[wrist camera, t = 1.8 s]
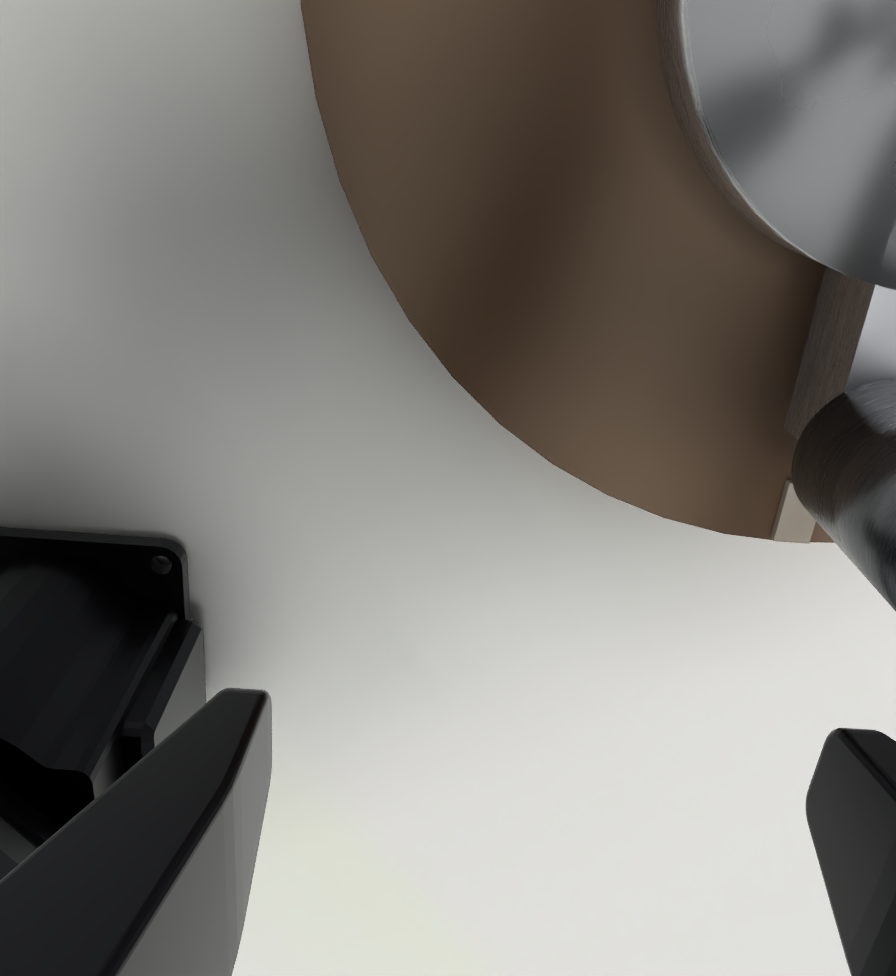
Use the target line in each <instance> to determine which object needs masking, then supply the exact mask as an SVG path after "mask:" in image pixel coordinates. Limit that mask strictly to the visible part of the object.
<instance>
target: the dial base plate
mask: <svg viewBox="0 0 896 976" xmlns="http://www.w3.org/2000/svg"><path fill="white" fill-rule="evenodd" d="M301 9H302V16H303V22H304V28H305V34H306V40H307V46H308V52H309V58H310V64H311V70H312V77H313V83H314V89H315V95H316V100H317V103H318V107H319V110H320V114H321V117H322V121H323V124H324V128H325V131H326V135H327V138H328V142H329V145H330V149H331V152H332V156H333V159H334V163H335V166H336V169H337V173H338V176H339V180H340V183H341V185H342V187H343V190H344V192H345V195H346V197H347V199H348V202H349V204H350V206H351V209H352V211H353V213H354V216H355V218H356V221H357V223H358V225H359V228H360V230H361V232H362V235H363V237H364V239H365V242H366V244H367V246H368V249H369V251H370V254H371V256H372V257H373V259H374V261H375V263H376V264H377V266H378V268H379V270H380V271H381V273H382V275H383V276H384V278H385V280H386V282H387V283H388V285H389V287H390V288H391V290H392V292H393V294H394V295H395V297H396V299H397V301H398V302H399V304H400V306H401V307H402V309H403V311H404V313H405V314H406V316H407V318H408V319H409V321H410V322H411V324H412V325H413V326H414V327H415V329H416V330H417V331H418V333H419V334H420V335H421V337H422V338H423V339H424V340H425V342H426V343H427V344H428V346H429V347H430V348H431V350H432V351H433V352H434V353H435V355H436V356H437V357H438V359H439V360H440V361H441V363H442V364H443V365H444V367H445V368H446V369H447V370H448V372H449V373H450V374H451V376H452V377H453V378H454V379H455V380H456V381H457V382H458V383H459V384H460V385H461V386H462V387H463V388H464V389H465V390H466V391H467V392H468V393H469V394H470V395H471V396H472V397H473V398H474V399H475V400H476V401H477V402H478V403H479V404H480V405H481V406H482V407H483V408H484V409H485V410H486V411H487V412H488V413H489V414H490V415H491V416H492V417H493V418H494V419H495V420H496V421H497V422H498V423H499V424H501V425H502V426H503V427H504V428H506V429H507V430H508V431H510V432H511V433H512V434H514V435H515V436H516V437H518V438H519V439H520V440H522V441H523V442H524V443H526V444H527V445H528V446H529V447H531V448H532V449H533V450H535V451H536V452H537V453H539V454H540V455H541V456H543V457H544V458H545V459H547V460H548V461H549V462H551V463H552V464H554V465H555V466H557V467H559V468H561V469H563V470H564V471H566V472H568V473H570V474H571V475H573V476H575V477H577V478H578V479H580V480H582V481H584V482H585V483H587V484H589V485H591V486H592V487H594V488H596V489H598V490H600V491H601V492H603V493H605V494H607V495H609V496H612V497H614V498H616V499H619V500H621V501H624V502H626V503H629V504H631V505H634V506H636V507H639V508H641V509H644V510H646V511H649V512H651V513H654V514H656V515H658V516H661V517H663V518H667V519H671V520H674V521H678V522H682V523H686V524H690V525H693V526H697V527H701V528H705V529H709V530H713V531H716V532H720V533H724V534H731V535H739V536H746V537H754V538H761V539H769V540H773V541H781V542H795V543H810V542H834V541H833V540H832V538H831V537H830V536H829V535H828V534H827V533H826V532H825V531H824V529H823V528H822V527H821V526H820V525H819V524H818V523H817V521H816V520H815V519H814V518H813V517H812V516H811V515H810V514H809V512H808V511H807V510H806V509H805V508H804V507H803V506H802V504H801V502H800V501H799V499H798V497H797V495H796V493H795V490H794V486H793V482H792V474H791V469H792V459H793V454H794V450H795V447H796V445H797V442H798V440H797V439H796V438H795V437H794V436H793V435H792V434H791V433H790V432H789V431H788V430H787V429H786V428H785V427H784V422H785V418H786V415H787V411H788V407H789V403H790V399H791V396H792V392H793V388H794V384H795V381H796V377H797V373H798V369H799V365H800V362H801V358H802V354H803V350H804V347H805V343H806V339H807V335H808V331H809V328H810V324H811V320H812V316H813V313H814V309H815V305H816V301H817V297H818V294H819V290H820V286H821V282H822V279H823V275H824V271H825V267H826V266H825V265H822V264H820V263H818V262H816V261H813V260H811V259H809V258H806V257H804V256H802V255H800V254H798V253H796V252H794V251H792V250H790V249H788V248H786V247H784V246H782V245H779V244H777V243H776V242H775V241H773V240H772V239H770V238H769V237H767V236H766V235H764V234H763V233H761V232H760V231H758V230H757V229H756V228H754V227H753V226H751V225H750V224H749V223H748V222H747V221H746V220H745V219H744V218H742V217H741V216H740V215H739V214H738V213H737V212H736V211H735V210H734V209H733V208H732V207H731V206H730V205H729V204H728V203H726V201H725V200H724V199H723V198H722V196H721V195H720V194H719V193H718V191H717V190H716V189H715V187H714V186H713V185H712V184H711V182H710V181H709V180H708V179H707V177H706V176H705V175H704V173H703V171H702V170H701V168H700V166H699V164H698V163H697V161H696V159H695V157H694V156H693V154H692V152H691V151H690V149H689V147H688V145H687V144H686V141H685V139H684V136H683V134H682V131H681V129H680V126H679V124H678V121H677V119H676V116H675V114H674V111H673V109H672V105H671V101H670V97H669V94H668V90H667V86H666V82H665V78H664V74H663V70H662V63H661V55H660V47H659V39H658V32H657V0H301Z"/></svg>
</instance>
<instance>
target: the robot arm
mask: <svg viewBox="0 0 896 976" xmlns="http://www.w3.org/2000/svg"><path fill="white" fill-rule="evenodd" d="M155 556H164V557H166V558H167V559H169V560H170V562H171V564H172V565H170V566H165V565H161V564H160V563H159V562H158V561H157V560H156V557H155ZM271 768H272V704H271V697H270V695H269V694H268V692H266V691H265V690H256V689H241V688H226V689H224V690H222V691H220V692H219V693H217V694H216V695H215V696H214V697H213V698H212V699H211V700H209V701H208V702H207V703H206V689H205V667H204V646H203V629H202V628H201V627H200V625H199V624H198V623H197V622H196V621H195V620H190V607H189V588H188V570H187V557H186V553H185V551H184V549H183V548H182V547H181V546H180V545H179V544H178V543H176V542H174V541H173V540H169V539H163V538H149V537H134V536H120V535H106V534H91V533H77V532H62V531H48V530H34V529H19V528H5V527H0V976H231V975H232V972H233V968H234V964H235V961H236V957H237V953H238V949H239V944H240V940H241V935H242V931H243V926H244V921H245V916H246V910H247V905H248V900H249V894H250V889H251V883H252V878H253V873H254V867H255V862H256V856H257V851H258V845H259V840H260V835H261V829H262V824H263V818H264V813H265V808H266V802H267V797H268V791H269V786H270V779H271ZM806 815H807V821H808V825H809V829H810V832H811V836H812V839H813V843H814V846H815V850H816V854H817V857H818V861H819V864H820V868H821V871H822V875H823V878H824V882H825V886H826V889H827V893H828V896H829V900H830V903H831V907H832V910H833V914H834V917H835V921H836V925H837V928H838V932H839V935H840V939H841V942H842V946H843V949H844V953H845V956H846V960H847V963H848V966H849V969H850V973H851V976H896V741H894V740H893V739H891V738H890V737H888V736H887V735H885V734H883V733H882V732H879V731H876V730H867V729H851V728H838V729H835V730H833V731H832V732H831V733H830V734H829V735H828V736H827V738H826V740H825V743H824V746H823V749H822V751H821V754H820V757H819V760H818V763H817V766H816V769H815V772H814V775H813V777H812V780H811V783H810V786H809V789H808V792H807V797H806Z"/></svg>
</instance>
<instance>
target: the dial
mask: <svg viewBox="0 0 896 976" xmlns="http://www.w3.org/2000/svg"><path fill="white" fill-rule="evenodd" d="M657 32H658V39H659V47H660V55H661V63H662V70H663V74H664V78H665V82H666V86H667V90H668V94H669V97H670V101H671V105H672V109H673V111H674V114H675V116H676V119H677V121H678V124H679V126H680V129H681V131H682V134H683V136H684V139H685V141H686V144H687V145H688V147H689V149H690V151H691V152H692V154H693V156H694V157H695V159H696V161H697V163H698V164H699V166H700V168H701V170H702V171H703V173H704V175H705V176H706V177H707V179H708V180H709V181H710V182H711V184H712V185H713V186H714V187H715V189H716V190H717V191H718V193H719V194H720V195H721V196H722V198H723V199H724V200H725V201H726V203H728V204H729V205H730V206H731V207H732V208H733V209H734V210H735V211H736V212H737V213H738V214H739V215H740V216H741V217H742V218H744V219H745V220H746V221H747V222H748V223H749V224H750V225H751V226H753V227H754V228H756V229H757V230H758V231H760V232H761V233H763V234H764V235H766V236H767V237H769V238H770V239H772V240H773V241H775V242H776V243H777V244H779V245H782V246H784V247H786V248H788V249H790V250H792V251H794V252H796V253H798V254H800V255H802V256H804V257H806V258H809V259H811V260H813V261H816V262H818V263H820V264H822V265H825V266H826V267H825V271H824V275H823V279H822V282H821V286H820V290H819V294H818V297H817V301H816V305H815V309H814V313H813V316H812V320H811V324H810V328H809V331H808V335H807V339H806V343H805V347H804V350H803V354H802V358H801V362H800V365H799V369H798V373H797V377H796V381H795V384H794V388H793V392H792V396H791V399H790V403H789V407H788V411H787V415H786V418H785V422H784V427H785V428H786V429H787V430H788V431H789V432H790V433H791V434H792V435H793V436H794V437H795V438H796V439H797V440H798V442H797V445H796V447H795V450H794V454H793V459H792V469H791V474H792V482H793V486H794V490H795V493H796V495H797V497H798V499H799V501H800V502H801V504H802V506H803V507H804V508H805V509H806V510H807V511H808V512H809V514H810V515H811V516H812V517H813V518H814V519H815V520H816V521H817V523H818V524H819V525H820V526H821V527H822V528H823V529H824V531H825V532H826V533H827V534H828V535H829V536H830V537H831V538H832V540H833V541H834V542H835V543H836V544H837V545H838V546H839V548H840V549H841V550H842V551H843V552H844V553H845V554H846V555H847V557H848V558H849V559H850V560H851V561H852V562H853V563H854V565H855V566H856V567H857V568H858V569H859V570H860V571H861V572H862V574H863V575H864V576H865V577H866V578H867V579H868V580H869V581H870V583H871V584H872V585H873V586H874V587H875V588H876V589H877V591H878V592H879V593H880V594H881V595H882V596H883V597H884V598H885V600H886V601H887V602H888V603H889V604H890V605H891V606H892V608H893V609H894V610H895V611H896V0H657Z"/></svg>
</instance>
